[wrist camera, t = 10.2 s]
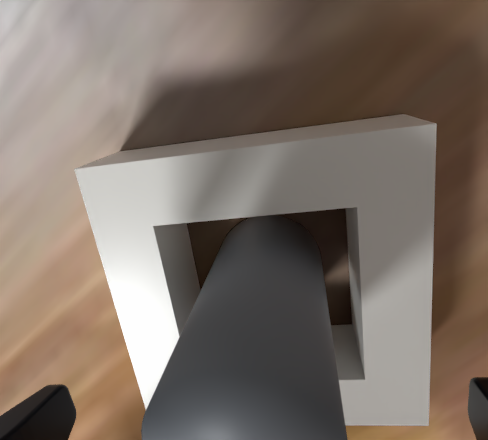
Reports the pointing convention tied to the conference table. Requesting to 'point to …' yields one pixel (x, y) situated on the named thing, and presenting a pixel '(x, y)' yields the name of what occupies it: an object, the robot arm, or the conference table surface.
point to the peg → (254, 346)
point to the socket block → (272, 203)
